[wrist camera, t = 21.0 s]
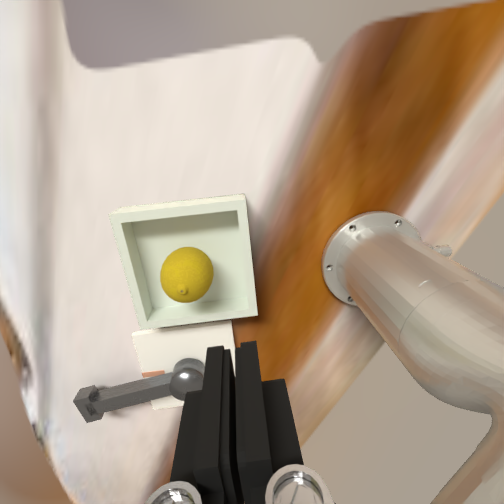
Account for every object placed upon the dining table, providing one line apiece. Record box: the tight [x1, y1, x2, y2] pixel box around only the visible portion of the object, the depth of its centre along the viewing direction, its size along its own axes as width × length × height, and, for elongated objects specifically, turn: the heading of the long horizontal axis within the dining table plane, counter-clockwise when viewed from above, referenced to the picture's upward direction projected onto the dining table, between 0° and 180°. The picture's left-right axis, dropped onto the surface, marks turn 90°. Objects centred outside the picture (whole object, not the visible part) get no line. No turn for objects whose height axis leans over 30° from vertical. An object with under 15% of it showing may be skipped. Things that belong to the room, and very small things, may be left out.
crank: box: [73, 358, 205, 423], centre depth 39 cm, size 17×4×3 cm, turn 104°
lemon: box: [160, 247, 214, 303], centre depth 32 cm, size 6×6×8 cm
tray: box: [109, 194, 258, 330], centre depth 34 cm, size 14×14×4 cm
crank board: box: [131, 320, 235, 410], centre depth 41 cm, size 13×13×1 cm
